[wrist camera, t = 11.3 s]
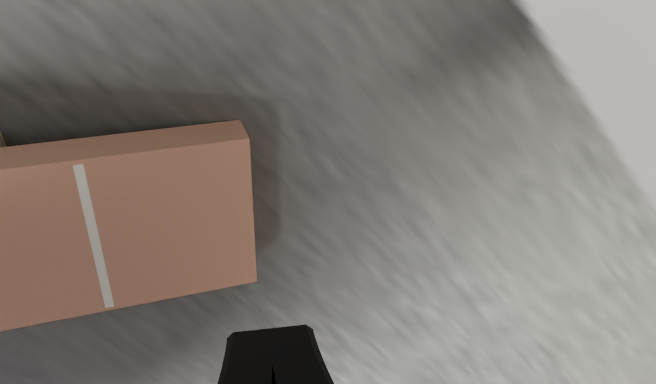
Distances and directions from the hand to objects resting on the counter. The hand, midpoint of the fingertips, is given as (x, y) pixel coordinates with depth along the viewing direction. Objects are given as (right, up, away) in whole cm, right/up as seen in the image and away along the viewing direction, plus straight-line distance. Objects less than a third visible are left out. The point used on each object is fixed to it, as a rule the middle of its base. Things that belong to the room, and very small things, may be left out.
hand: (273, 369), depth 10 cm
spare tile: (-1, +3, +4) cm, 5 cm away
